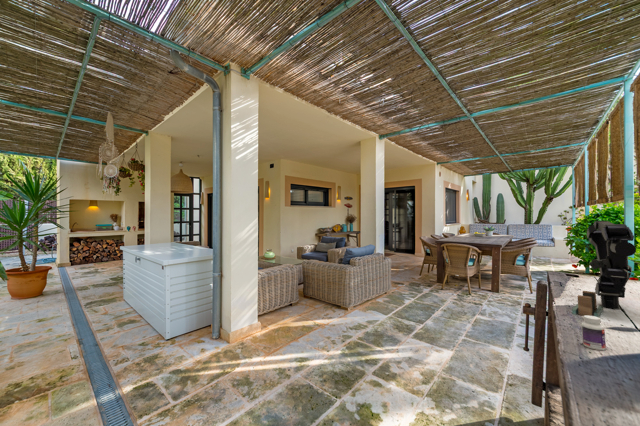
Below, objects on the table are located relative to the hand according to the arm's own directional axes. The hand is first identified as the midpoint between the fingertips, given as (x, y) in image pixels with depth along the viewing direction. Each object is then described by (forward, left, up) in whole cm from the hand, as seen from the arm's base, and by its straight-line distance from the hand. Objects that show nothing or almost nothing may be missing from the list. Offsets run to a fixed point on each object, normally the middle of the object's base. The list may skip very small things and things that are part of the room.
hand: (620, 290), depth 112 cm
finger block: (+8, -10, -11) cm, 17 cm away
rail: (+2, -10, -12) cm, 16 cm away
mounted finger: (-4, -10, -11) cm, 15 cm away
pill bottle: (+43, -4, -12) cm, 45 cm away
